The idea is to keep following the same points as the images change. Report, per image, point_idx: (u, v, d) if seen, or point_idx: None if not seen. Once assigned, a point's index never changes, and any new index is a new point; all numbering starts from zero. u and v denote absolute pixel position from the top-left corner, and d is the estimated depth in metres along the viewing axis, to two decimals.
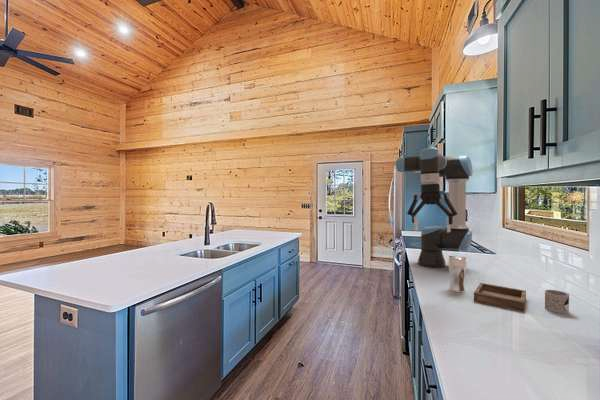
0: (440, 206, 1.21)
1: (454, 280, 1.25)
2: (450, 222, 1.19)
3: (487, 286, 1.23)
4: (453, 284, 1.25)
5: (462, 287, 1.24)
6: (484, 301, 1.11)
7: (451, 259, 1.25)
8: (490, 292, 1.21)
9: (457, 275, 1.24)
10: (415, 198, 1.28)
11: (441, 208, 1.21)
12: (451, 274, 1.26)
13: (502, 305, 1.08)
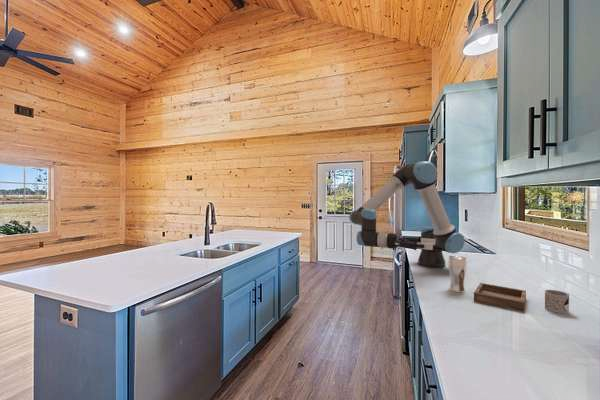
0: None
1: (454, 280, 1.25)
2: None
3: (487, 286, 1.23)
4: (453, 284, 1.25)
5: (462, 287, 1.24)
6: (484, 301, 1.11)
7: (451, 259, 1.25)
8: (490, 292, 1.21)
9: (457, 275, 1.24)
10: None
11: None
12: (451, 274, 1.26)
13: (502, 305, 1.08)
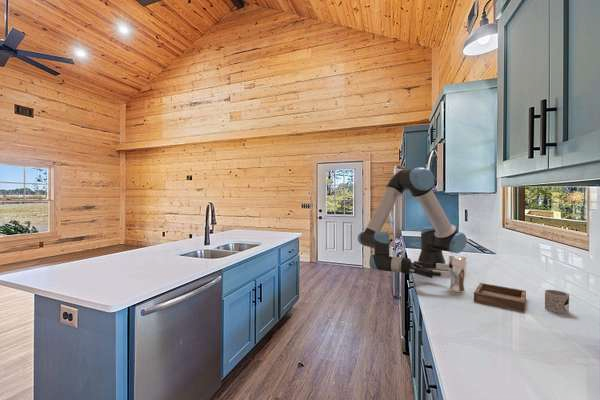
0: None
1: (454, 280, 1.25)
2: None
3: (487, 286, 1.23)
4: (453, 284, 1.25)
5: (462, 287, 1.24)
6: (484, 301, 1.11)
7: (451, 259, 1.25)
8: (490, 292, 1.21)
9: (457, 275, 1.24)
10: None
11: None
12: (451, 274, 1.26)
13: (502, 305, 1.08)
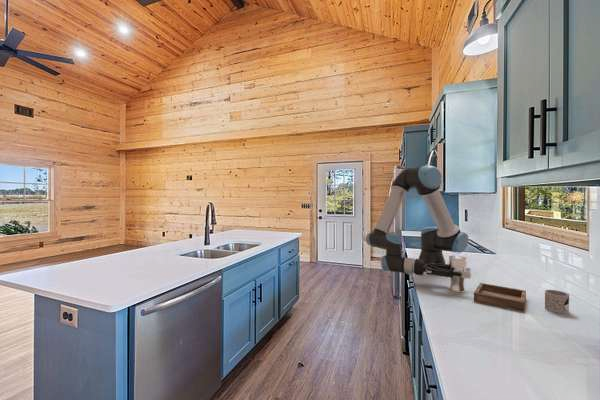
0: None
1: (454, 280, 1.25)
2: None
3: (487, 286, 1.23)
4: (453, 284, 1.25)
5: (462, 287, 1.24)
6: (484, 301, 1.11)
7: (451, 259, 1.25)
8: (490, 292, 1.21)
9: None
10: None
11: None
12: None
13: (502, 305, 1.08)
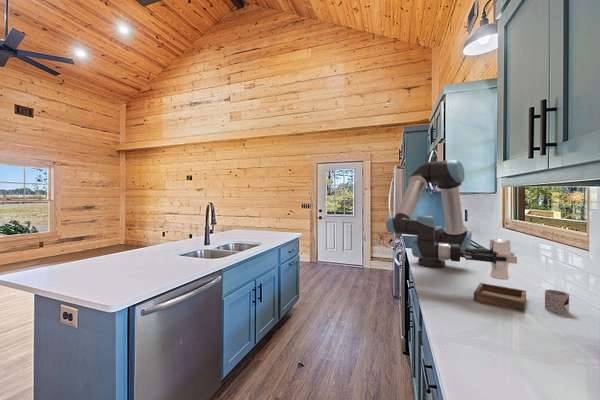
0: None
1: (497, 266, 1.13)
2: None
3: (487, 286, 1.23)
4: (495, 270, 1.13)
5: (506, 274, 1.12)
6: (484, 301, 1.11)
7: (493, 243, 1.13)
8: (490, 292, 1.21)
9: None
10: None
11: None
12: None
13: (502, 305, 1.08)
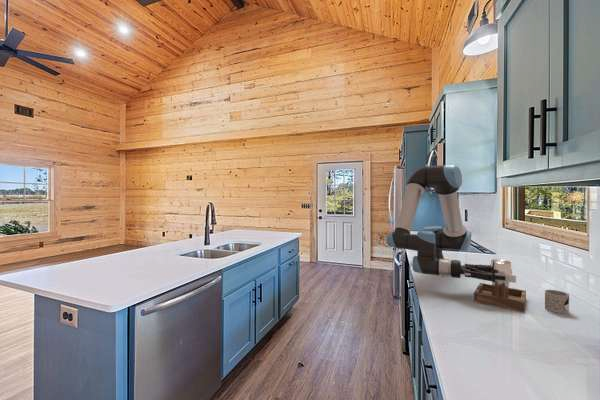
0: None
1: (497, 287, 1.13)
2: None
3: (487, 286, 1.23)
4: (496, 291, 1.13)
5: (506, 294, 1.12)
6: (484, 301, 1.11)
7: (494, 263, 1.13)
8: (490, 292, 1.21)
9: (502, 281, 1.11)
10: None
11: None
12: None
13: (502, 305, 1.08)
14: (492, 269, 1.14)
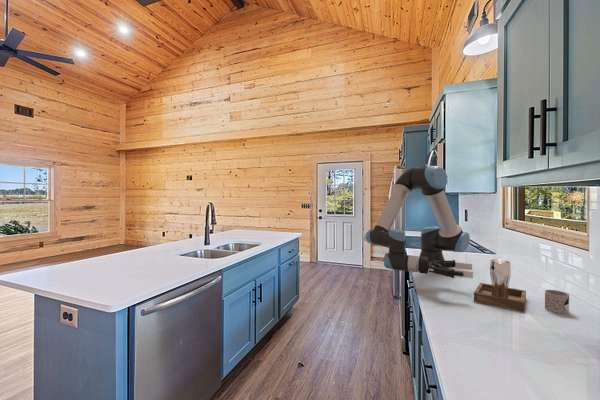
0: None
1: (497, 287, 1.13)
2: None
3: (487, 286, 1.23)
4: (495, 291, 1.14)
5: (506, 294, 1.12)
6: (484, 301, 1.11)
7: (494, 263, 1.13)
8: (490, 292, 1.21)
9: (501, 281, 1.12)
10: None
11: None
12: (494, 280, 1.14)
13: (502, 305, 1.08)
14: (491, 269, 1.14)
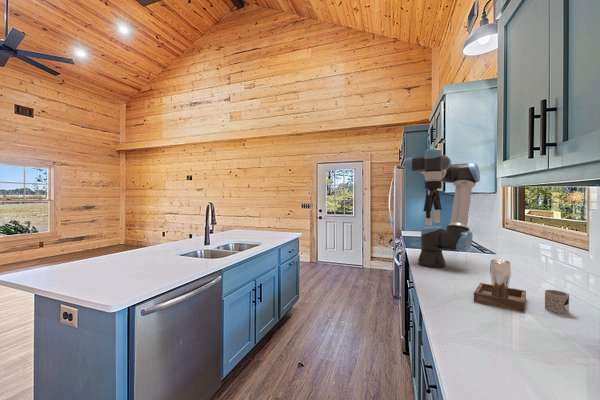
0: None
1: (497, 287, 1.13)
2: None
3: (487, 286, 1.23)
4: (495, 291, 1.14)
5: (506, 294, 1.12)
6: (484, 301, 1.11)
7: (494, 263, 1.13)
8: (490, 292, 1.21)
9: (501, 281, 1.12)
10: None
11: None
12: (494, 280, 1.14)
13: (502, 305, 1.08)
14: (491, 269, 1.14)
